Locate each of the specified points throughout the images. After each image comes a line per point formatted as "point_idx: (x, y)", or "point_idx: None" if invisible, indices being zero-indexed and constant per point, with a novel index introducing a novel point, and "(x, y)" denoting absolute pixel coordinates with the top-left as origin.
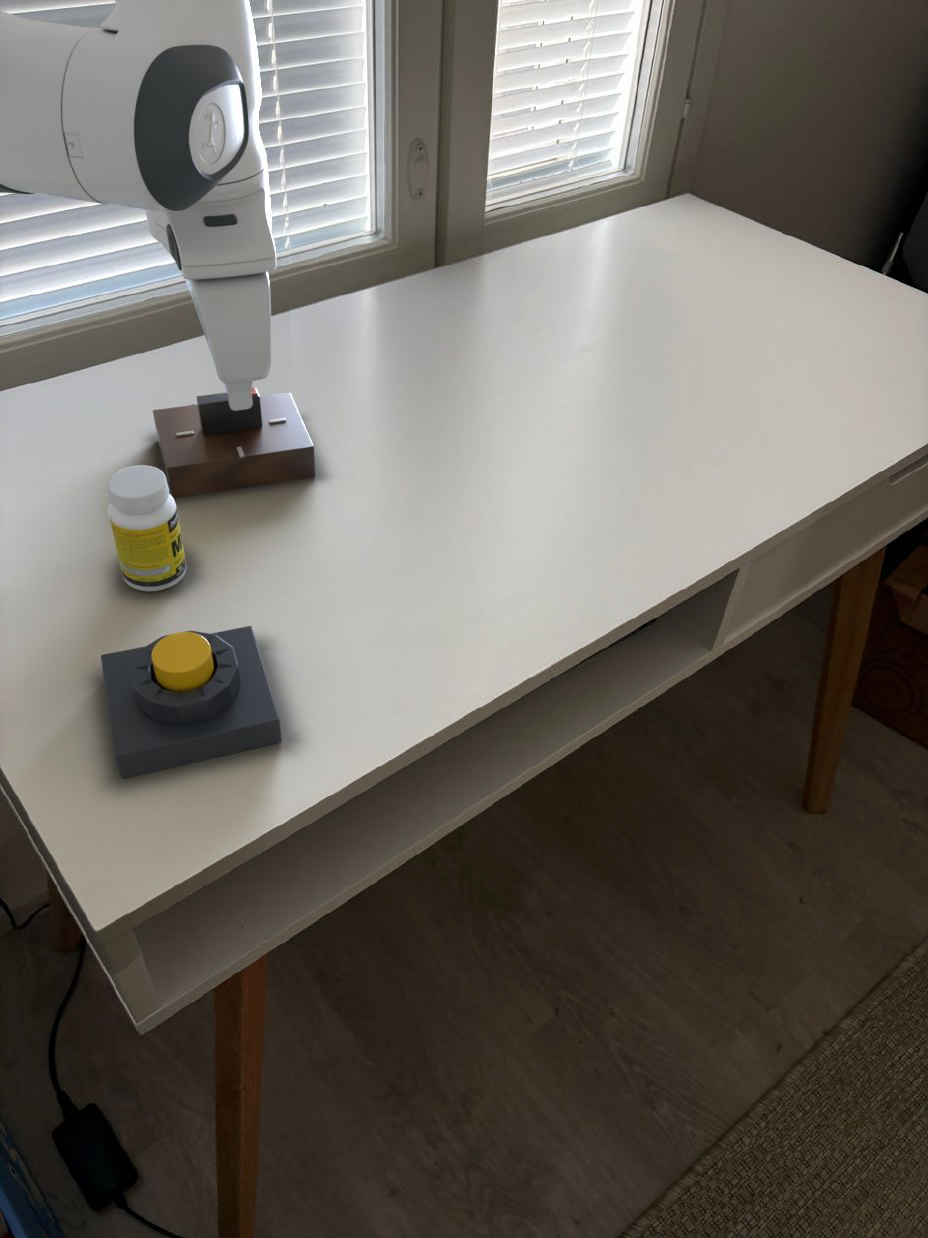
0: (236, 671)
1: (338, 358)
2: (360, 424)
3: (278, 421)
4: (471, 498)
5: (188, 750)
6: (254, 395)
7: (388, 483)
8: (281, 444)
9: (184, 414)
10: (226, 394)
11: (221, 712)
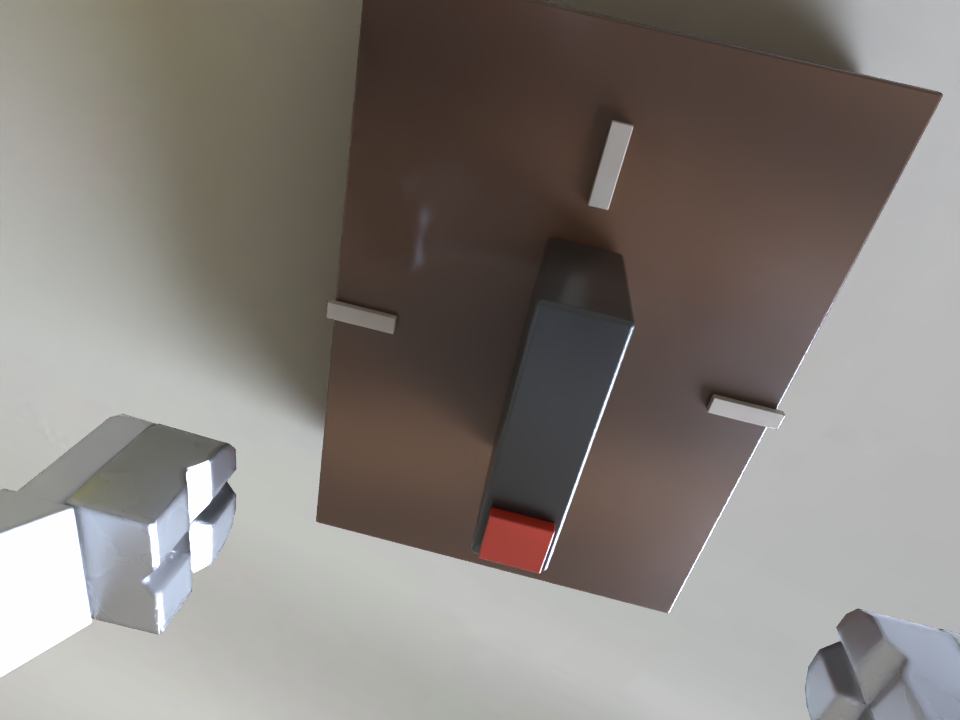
0: None
1: None
2: (536, 636)
3: None
4: (164, 645)
5: None
6: (481, 542)
7: (264, 561)
8: (362, 453)
9: (779, 230)
10: (188, 461)
11: None
